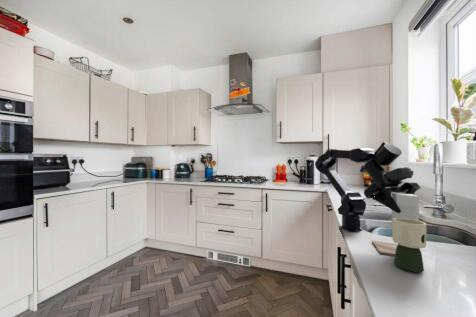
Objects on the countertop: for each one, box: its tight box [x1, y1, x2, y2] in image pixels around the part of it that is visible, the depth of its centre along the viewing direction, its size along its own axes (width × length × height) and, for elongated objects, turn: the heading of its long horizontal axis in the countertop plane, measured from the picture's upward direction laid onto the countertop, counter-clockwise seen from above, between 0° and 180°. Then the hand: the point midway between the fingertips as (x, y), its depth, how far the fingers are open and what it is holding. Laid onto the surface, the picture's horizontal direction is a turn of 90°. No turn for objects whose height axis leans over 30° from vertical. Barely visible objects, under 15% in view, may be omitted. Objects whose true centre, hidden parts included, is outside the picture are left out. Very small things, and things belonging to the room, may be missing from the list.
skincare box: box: [391, 193, 420, 230], centre depth 67 cm, size 6×4×12 cm
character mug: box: [392, 218, 427, 273], centre depth 57 cm, size 11×7×13 cm, turn 146°
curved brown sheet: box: [371, 240, 398, 257], centre depth 69 cm, size 10×8×1 cm
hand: (408, 212), depth 66 cm, fingers closed on skincare box, 7 cm apart
